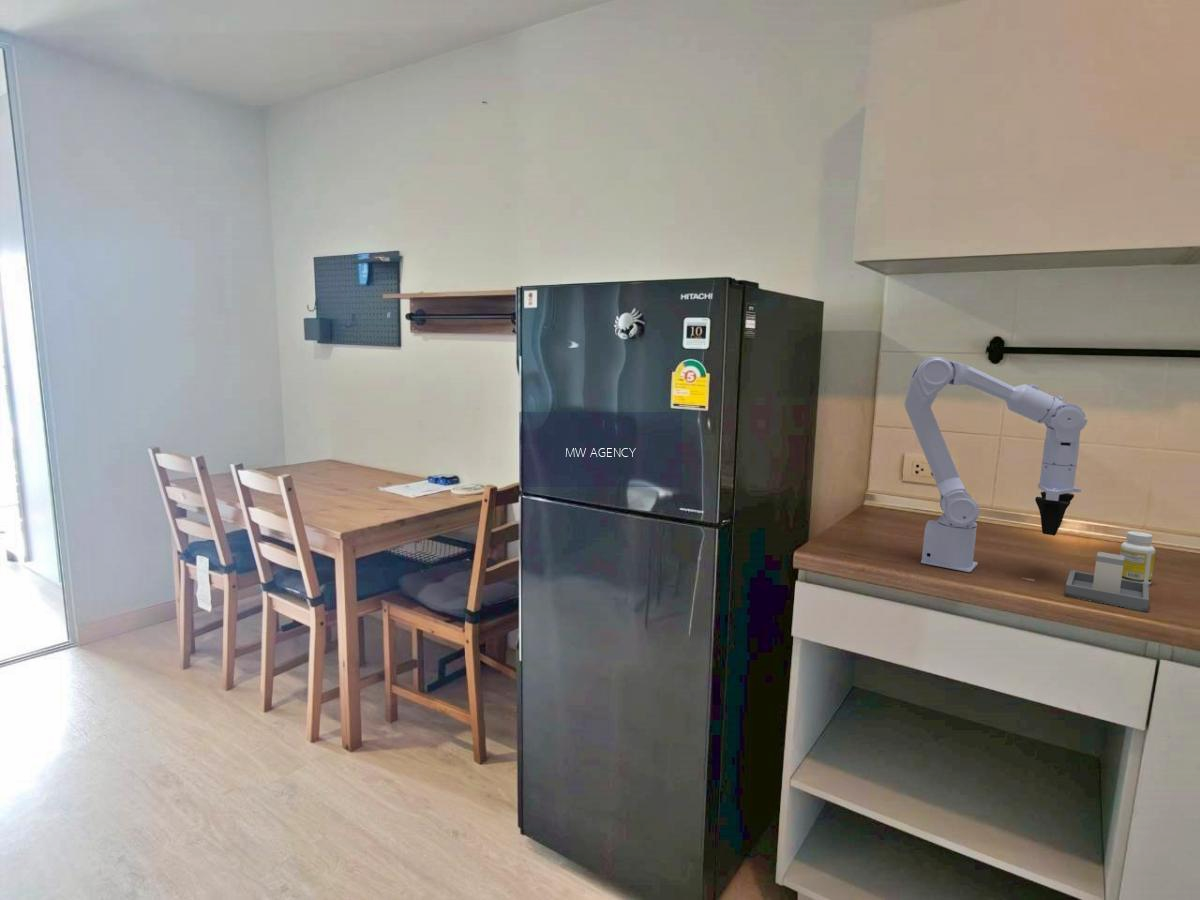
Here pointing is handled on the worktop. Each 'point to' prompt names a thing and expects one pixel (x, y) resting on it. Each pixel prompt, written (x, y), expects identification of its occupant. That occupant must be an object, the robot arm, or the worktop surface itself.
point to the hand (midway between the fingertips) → (1051, 530)
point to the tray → (1129, 597)
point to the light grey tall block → (1108, 572)
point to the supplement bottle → (1138, 557)
